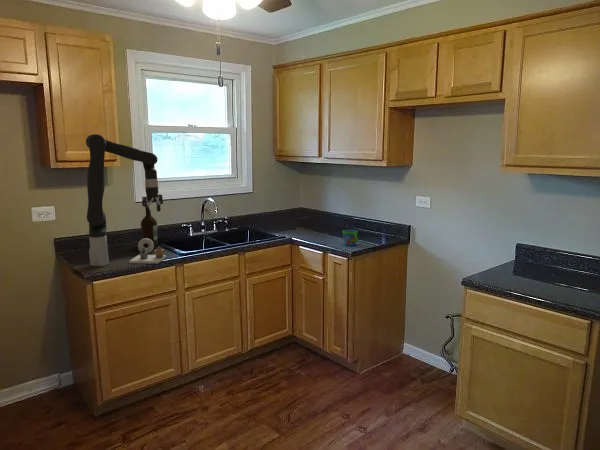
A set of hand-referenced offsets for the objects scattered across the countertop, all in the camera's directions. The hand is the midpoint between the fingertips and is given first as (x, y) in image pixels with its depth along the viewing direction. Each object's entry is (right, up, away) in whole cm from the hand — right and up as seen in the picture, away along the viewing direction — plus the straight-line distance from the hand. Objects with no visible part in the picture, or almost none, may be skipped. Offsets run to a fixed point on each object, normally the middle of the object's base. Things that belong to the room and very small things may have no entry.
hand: (153, 212), depth 276 cm
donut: (-9, -26, +13) cm, 31 cm away
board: (-2, -29, -4) cm, 30 cm away
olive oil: (-13, -22, +33) cm, 42 cm away
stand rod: (-4, -28, -5) cm, 29 cm away
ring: (+5, -25, -3) cm, 26 cm away
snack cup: (+125, -22, +34) cm, 132 cm away
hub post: (+5, -28, -2) cm, 28 cm away
